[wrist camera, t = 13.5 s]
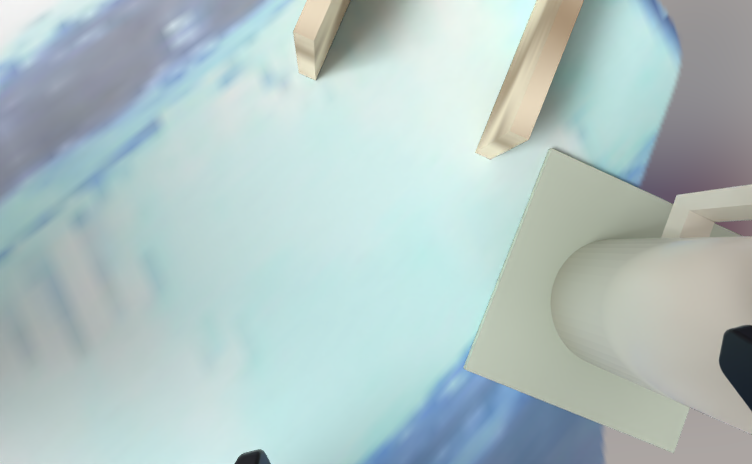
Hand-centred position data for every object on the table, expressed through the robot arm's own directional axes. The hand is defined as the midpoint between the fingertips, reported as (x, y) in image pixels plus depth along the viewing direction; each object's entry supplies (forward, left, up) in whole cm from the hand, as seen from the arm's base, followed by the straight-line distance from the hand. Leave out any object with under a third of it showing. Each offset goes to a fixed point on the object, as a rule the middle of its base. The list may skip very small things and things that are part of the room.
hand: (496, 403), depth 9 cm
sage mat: (0, -10, -12) cm, 16 cm away
